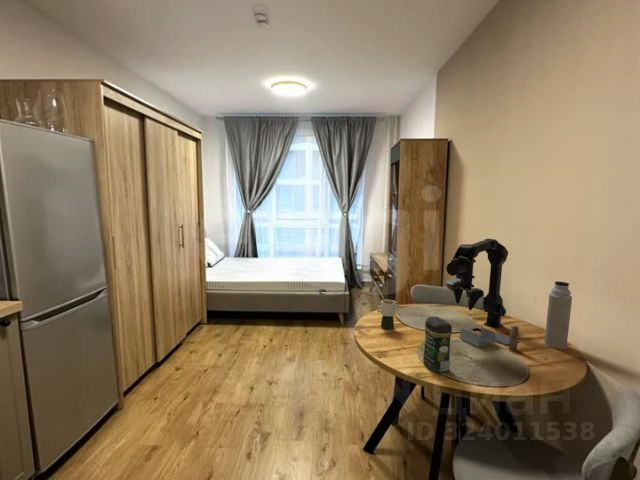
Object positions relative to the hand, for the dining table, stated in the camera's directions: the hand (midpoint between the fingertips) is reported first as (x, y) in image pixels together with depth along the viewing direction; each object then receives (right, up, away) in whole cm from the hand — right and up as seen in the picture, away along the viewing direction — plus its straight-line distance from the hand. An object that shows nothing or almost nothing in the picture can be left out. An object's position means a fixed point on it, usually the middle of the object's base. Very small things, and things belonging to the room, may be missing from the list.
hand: (463, 306), depth 152 cm
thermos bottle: (+37, -16, -6) cm, 41 cm away
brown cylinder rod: (+16, -16, -11) cm, 25 cm away
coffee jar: (-22, -17, -26) cm, 38 cm away
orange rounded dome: (+5, -13, -3) cm, 14 cm away
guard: (+5, -15, -3) cm, 16 cm away
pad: (+17, -15, -1) cm, 23 cm away
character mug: (-32, -13, +11) cm, 37 cm away
